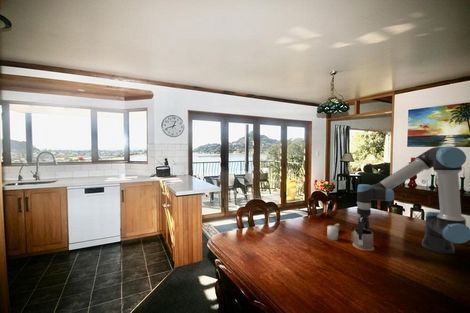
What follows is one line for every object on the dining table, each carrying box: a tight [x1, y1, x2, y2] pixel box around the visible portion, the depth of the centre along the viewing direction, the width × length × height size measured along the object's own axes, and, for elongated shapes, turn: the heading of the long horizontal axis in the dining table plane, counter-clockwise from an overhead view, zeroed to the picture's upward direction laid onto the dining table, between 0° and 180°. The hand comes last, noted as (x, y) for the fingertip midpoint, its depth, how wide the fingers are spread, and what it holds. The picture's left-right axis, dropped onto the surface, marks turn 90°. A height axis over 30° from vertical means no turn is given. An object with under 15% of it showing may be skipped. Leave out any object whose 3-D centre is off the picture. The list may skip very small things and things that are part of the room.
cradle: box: [332, 222, 354, 242], centre depth 156 cm, size 16×14×5 cm
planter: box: [353, 227, 374, 249], centre depth 137 cm, size 11×11×10 cm
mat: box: [352, 242, 375, 252], centre depth 137 cm, size 12×12×1 cm
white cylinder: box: [326, 225, 339, 241], centre depth 150 cm, size 7×7×8 cm
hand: (363, 241), depth 137 cm, fingers open, 12 cm apart
